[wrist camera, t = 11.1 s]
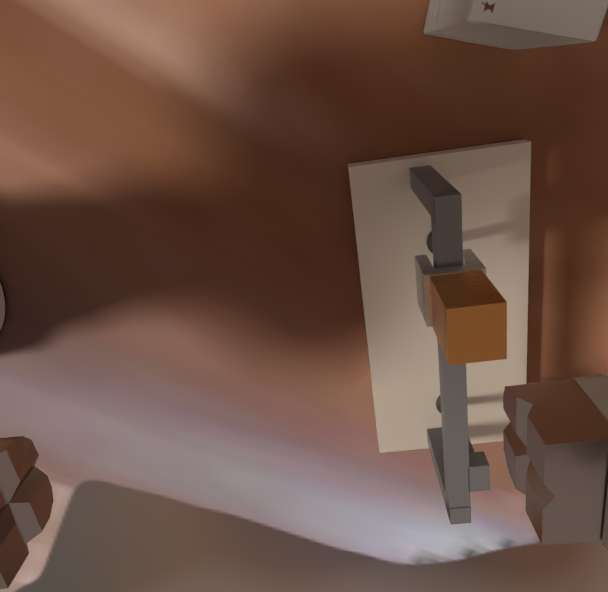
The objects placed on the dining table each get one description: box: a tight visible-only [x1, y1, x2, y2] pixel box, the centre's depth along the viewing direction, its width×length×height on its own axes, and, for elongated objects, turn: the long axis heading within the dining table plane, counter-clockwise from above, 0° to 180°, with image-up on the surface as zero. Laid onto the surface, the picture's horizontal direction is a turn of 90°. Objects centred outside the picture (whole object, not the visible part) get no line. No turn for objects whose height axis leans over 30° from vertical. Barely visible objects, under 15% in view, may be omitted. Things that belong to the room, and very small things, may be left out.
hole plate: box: [348, 139, 531, 524], centre depth 43 cm, size 14×28×12 cm, turn 8°
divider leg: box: [414, 249, 507, 365], centre depth 37 cm, size 4×4×16 cm
